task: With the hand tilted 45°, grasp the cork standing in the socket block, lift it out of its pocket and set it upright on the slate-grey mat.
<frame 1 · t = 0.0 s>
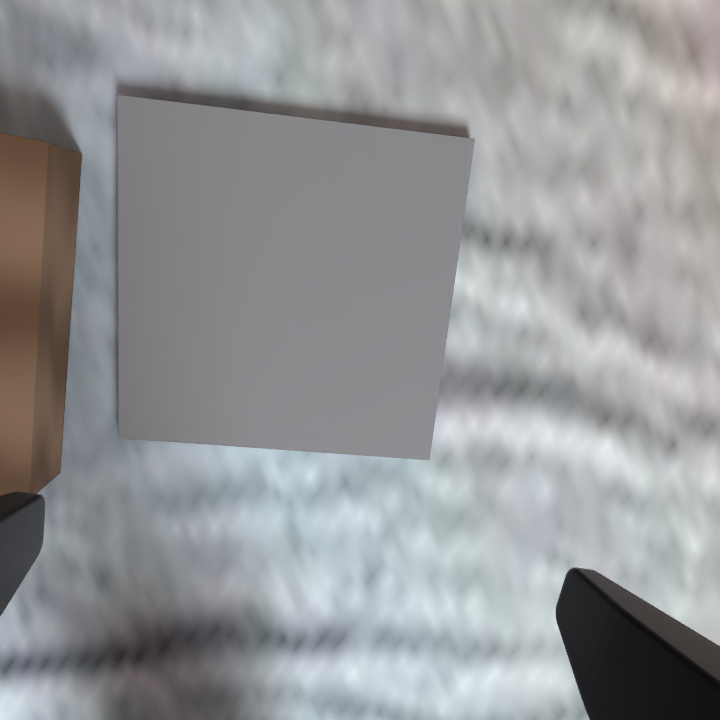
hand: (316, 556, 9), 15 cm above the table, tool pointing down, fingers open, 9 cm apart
grey mat: (289, 293, 22), on the table
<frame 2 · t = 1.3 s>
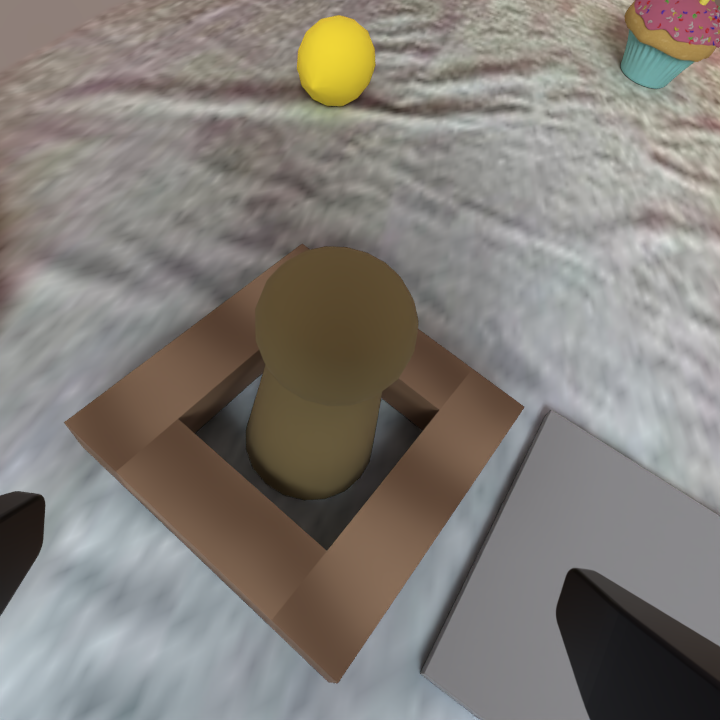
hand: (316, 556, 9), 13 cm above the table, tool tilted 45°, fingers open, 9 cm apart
cork: (310, 438, 24), resting in socket block
cupcake: (640, 76, 50), on the table
lemon: (331, 98, 39), on the table
socket block: (310, 436, 24), on the table
grey mat: (631, 619, 22), on the table
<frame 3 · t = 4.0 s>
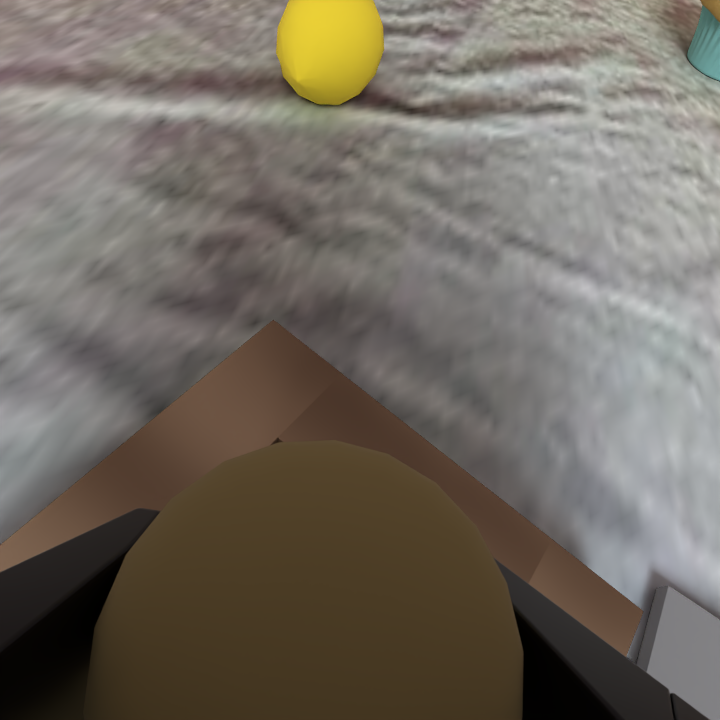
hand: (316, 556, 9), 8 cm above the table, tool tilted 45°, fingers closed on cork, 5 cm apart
cork: (281, 660, 14), resting in socket block, touching gripper
cupcake: (711, 68, 40), on the table
lemon: (324, 94, 29), on the table
socket block: (281, 660, 14), on the table
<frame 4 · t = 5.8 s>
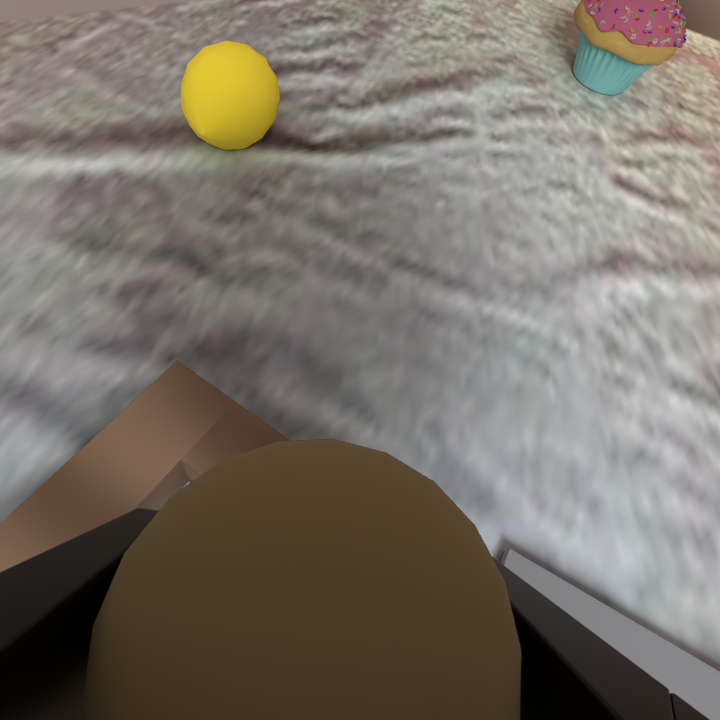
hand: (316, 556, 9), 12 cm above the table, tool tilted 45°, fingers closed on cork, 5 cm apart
cork: (280, 658, 14), point 4 cm above the table, touching gripper
cupcake: (595, 81, 44), on the table
lemon: (233, 137, 32), on the table
socket block: (194, 634, 18), on the table
when the fingers open (9 cm above the table, at t = 8.0 s): cork drops 1 cm, resting on grey mat.
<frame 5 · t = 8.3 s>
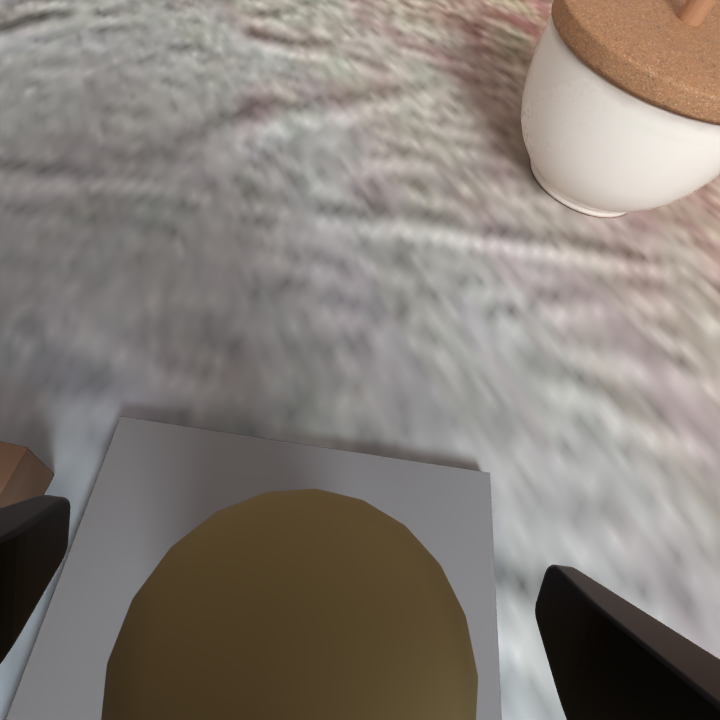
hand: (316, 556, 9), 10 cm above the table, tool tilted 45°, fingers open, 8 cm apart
cork: (276, 668, 15), resting on grey mat
grey mat: (278, 661, 16), on the table
lidded bowl: (582, 180, 32), on the table
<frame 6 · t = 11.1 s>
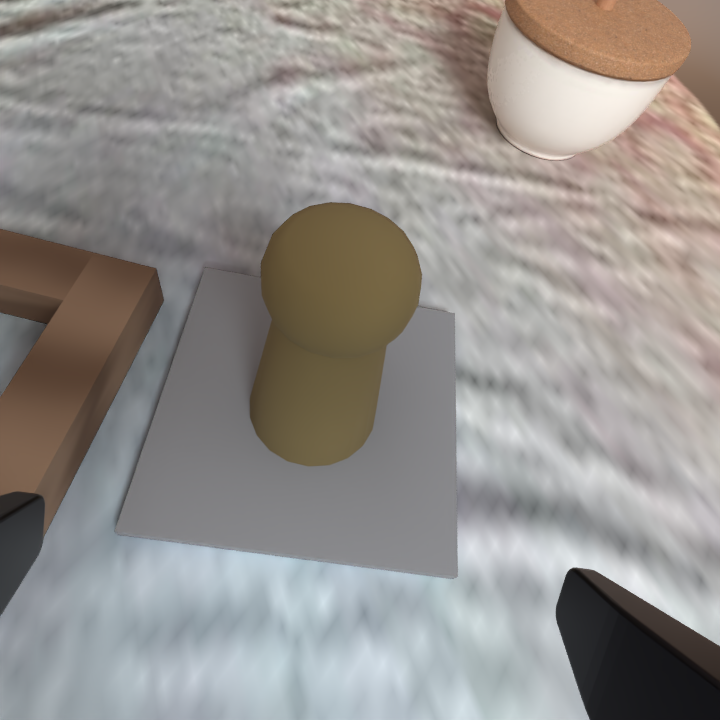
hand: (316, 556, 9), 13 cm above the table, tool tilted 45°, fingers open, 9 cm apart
cork: (313, 407, 25), resting on grey mat
grey mat: (314, 407, 25), on the table
lidded bowl: (537, 133, 42), on the table
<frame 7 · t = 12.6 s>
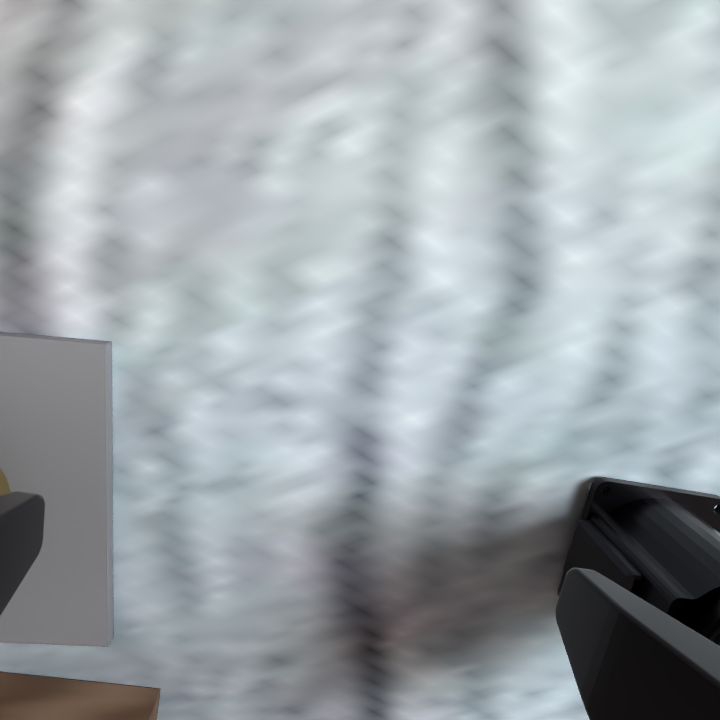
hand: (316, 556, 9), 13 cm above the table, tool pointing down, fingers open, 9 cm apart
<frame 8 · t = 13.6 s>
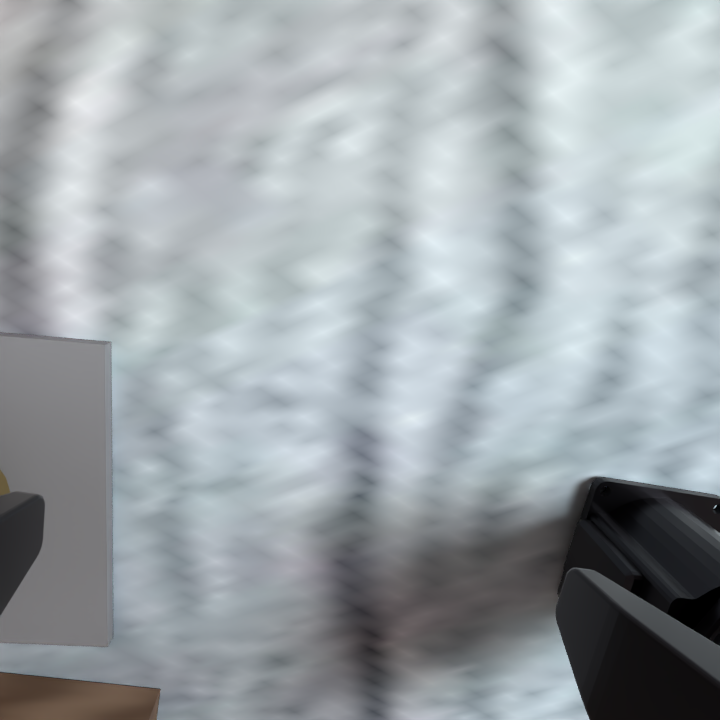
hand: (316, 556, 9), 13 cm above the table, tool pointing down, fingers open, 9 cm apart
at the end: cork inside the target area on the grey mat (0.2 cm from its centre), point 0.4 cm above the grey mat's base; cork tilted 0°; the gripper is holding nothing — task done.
